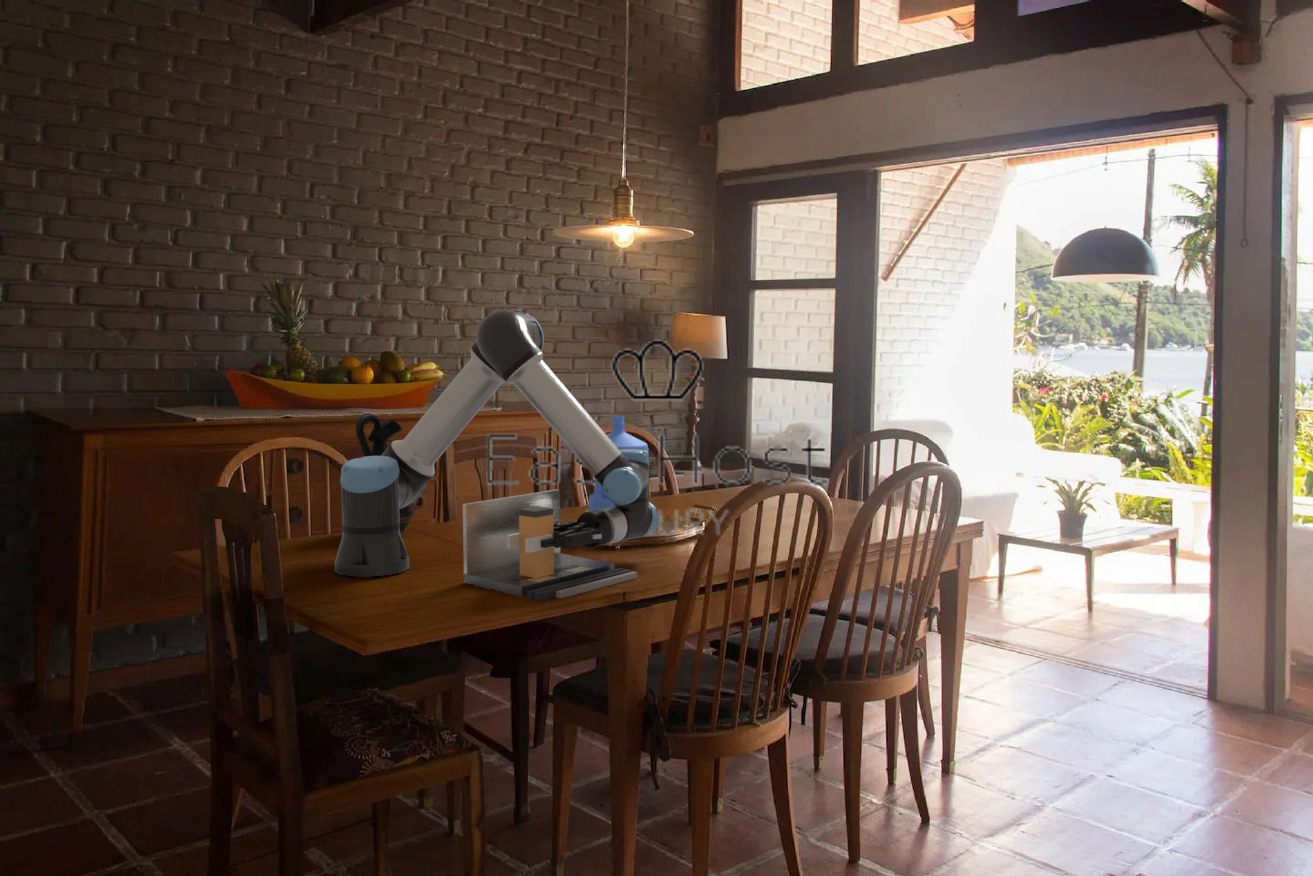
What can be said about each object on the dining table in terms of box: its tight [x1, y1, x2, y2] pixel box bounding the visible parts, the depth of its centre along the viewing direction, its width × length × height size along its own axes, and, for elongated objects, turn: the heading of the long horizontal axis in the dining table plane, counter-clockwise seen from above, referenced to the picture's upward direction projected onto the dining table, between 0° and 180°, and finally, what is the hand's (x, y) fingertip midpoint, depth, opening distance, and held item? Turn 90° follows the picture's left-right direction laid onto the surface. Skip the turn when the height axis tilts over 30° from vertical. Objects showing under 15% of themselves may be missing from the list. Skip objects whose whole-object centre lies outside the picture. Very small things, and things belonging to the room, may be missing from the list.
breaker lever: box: [519, 506, 554, 578], centre depth 210 cm, size 5×4×13 cm
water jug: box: [588, 415, 649, 512], centre depth 277 cm, size 16×16×28 cm
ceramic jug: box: [355, 413, 416, 537], centre depth 259 cm, size 17×15×30 cm
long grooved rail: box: [526, 567, 638, 602], centre depth 208 cm, size 26×5×1 cm, turn 140°
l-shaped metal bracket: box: [462, 488, 616, 598], centre depth 216 cm, size 26×17×16 cm, turn 140°
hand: (517, 544), depth 206 cm, fingers closed on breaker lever, 5 cm apart
